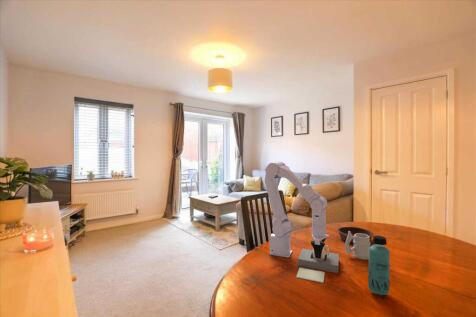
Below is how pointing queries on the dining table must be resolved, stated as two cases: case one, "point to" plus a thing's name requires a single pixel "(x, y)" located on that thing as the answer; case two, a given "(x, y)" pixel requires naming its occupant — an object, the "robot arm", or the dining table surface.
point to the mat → (311, 275)
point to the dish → (353, 232)
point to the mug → (358, 245)
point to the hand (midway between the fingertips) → (318, 255)
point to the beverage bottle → (379, 266)
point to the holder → (318, 261)
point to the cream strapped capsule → (322, 253)
